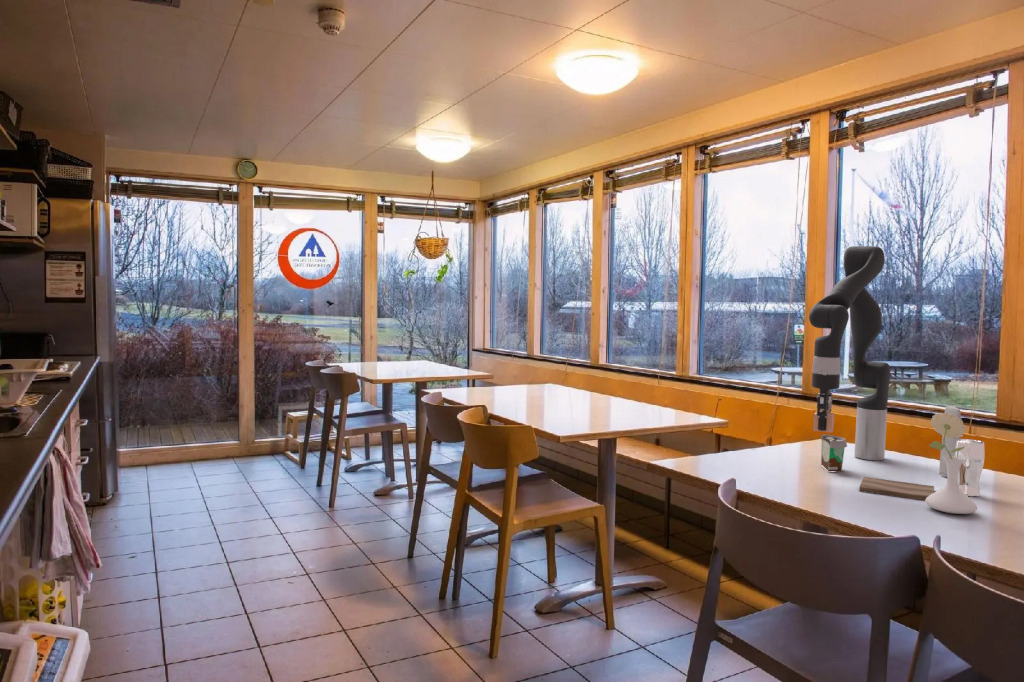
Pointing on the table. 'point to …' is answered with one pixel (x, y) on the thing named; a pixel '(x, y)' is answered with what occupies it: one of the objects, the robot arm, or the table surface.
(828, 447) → the food container
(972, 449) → the beer glass
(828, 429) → the terracotta cube
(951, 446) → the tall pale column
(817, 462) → the table surface
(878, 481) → the walnut board
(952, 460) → the flower in vase
